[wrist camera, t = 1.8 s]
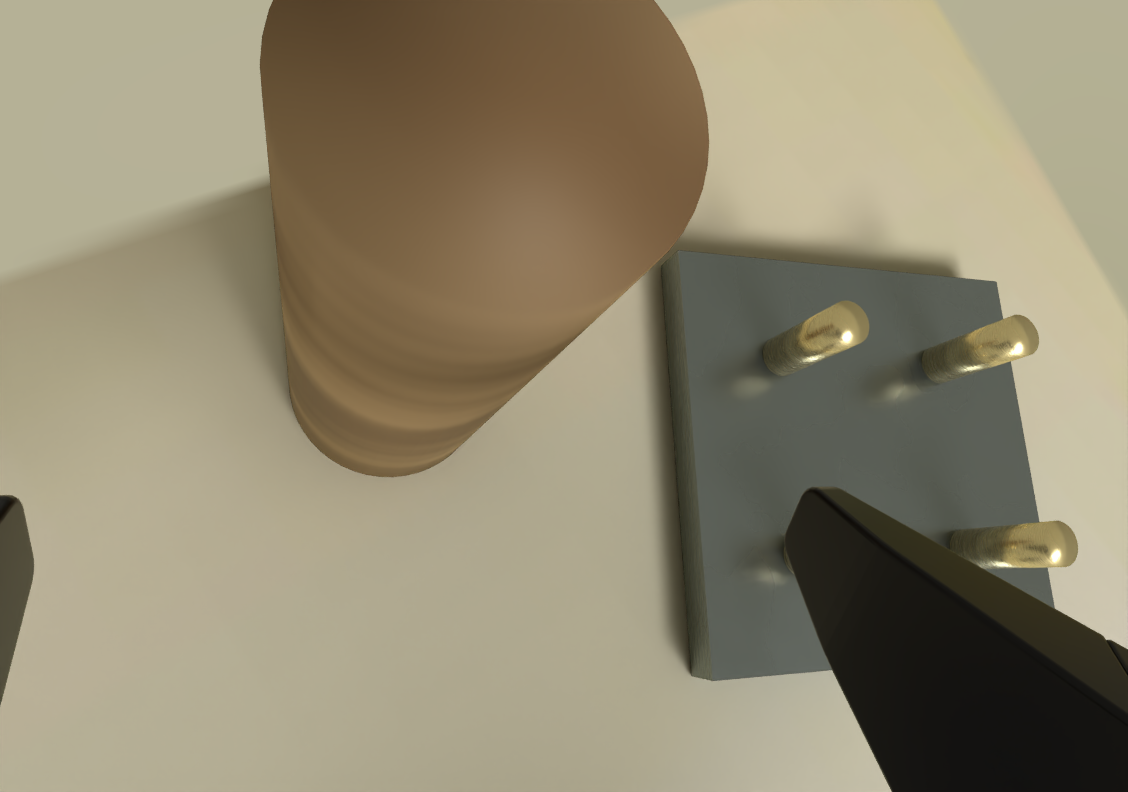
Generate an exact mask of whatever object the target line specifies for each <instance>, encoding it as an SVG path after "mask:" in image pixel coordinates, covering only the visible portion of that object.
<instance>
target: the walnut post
mask: <svg viewBox="0 0 1128 792" xmlns="http://www.w3.org/2000/svg"><path fill="white" fill-rule="evenodd" d="M260 73H261V86H262V98H263V109H264V120H265V130H266V141H267V152H268V163H269V173H270V184H271V195H272V206H273V216H274V227H275V238H276V249H277V259H278V270H279V281H280V292H281V302H282V313H283V324H284V335H285V345H286V356H287V367H288V378H289V388H290V397H291V402H292V406H293V410H294V412H295V415H296V418H297V420H298V422H299V424H300V426H301V428H302V429H303V431H304V433H305V434H306V435H307V437H308V438H309V439H310V441H311V442H312V443H313V444H314V445H315V446H316V447H317V448H318V449H319V450H320V451H321V452H322V453H323V454H325V455H326V456H327V457H328V458H330V459H331V460H333V461H334V462H336V463H338V464H340V465H341V466H343V467H346V468H348V469H350V470H353V471H355V472H359V473H362V474H366V475H372V476H378V477H397V476H406V475H410V474H414V473H418V472H421V471H423V470H426V469H429V468H431V467H433V466H434V465H436V464H438V463H440V462H441V461H443V460H444V459H446V458H447V457H448V456H450V455H451V454H452V453H453V452H454V451H455V450H456V449H457V448H458V447H460V446H461V445H462V444H463V443H464V442H465V441H466V440H467V439H468V438H469V437H470V436H471V435H472V434H473V433H475V432H476V431H477V430H478V429H479V428H480V427H481V426H482V425H483V424H484V423H485V422H486V421H487V420H489V419H490V418H491V417H492V416H493V415H494V414H495V413H496V412H497V411H498V410H499V409H500V408H501V407H502V406H504V405H505V404H506V403H507V402H508V401H509V400H510V399H511V398H512V397H513V396H514V395H515V394H516V393H517V392H519V391H520V390H521V389H522V388H523V387H524V386H525V385H526V384H527V383H528V382H529V381H530V380H531V379H533V378H534V377H535V376H536V375H537V374H538V373H539V372H540V371H541V370H542V369H543V368H544V367H545V366H546V365H548V364H549V363H550V362H551V361H552V360H553V359H554V358H555V357H556V356H557V355H558V354H559V353H560V352H561V351H563V350H564V349H565V348H566V347H567V346H568V345H569V344H570V343H571V342H572V341H573V340H574V339H575V338H577V337H578V336H579V335H580V334H581V333H582V332H583V331H584V330H585V329H586V328H587V327H588V326H589V325H590V324H592V323H593V322H594V321H595V320H596V319H597V318H598V317H599V316H600V315H601V314H602V313H603V312H604V311H605V310H607V309H608V308H609V307H610V306H611V305H612V304H613V303H614V302H615V301H616V300H617V299H618V298H619V297H621V296H622V295H623V294H624V293H625V292H626V291H627V290H628V289H629V288H630V287H631V286H632V285H633V284H634V283H636V282H637V281H638V280H639V279H640V278H641V277H642V276H643V275H644V274H645V273H646V272H647V271H648V270H649V269H651V268H652V267H653V266H654V265H655V264H656V263H657V262H658V261H659V260H660V259H661V258H662V257H663V256H664V255H665V254H666V253H667V252H668V251H669V250H670V249H671V247H672V246H673V245H674V244H675V242H676V241H677V240H678V238H679V237H680V236H681V234H682V233H683V232H684V230H685V228H686V226H687V224H688V222H689V221H690V219H691V217H692V215H693V213H694V211H695V209H696V206H697V203H698V201H699V198H700V195H701V192H702V190H703V185H704V180H705V175H706V171H707V166H708V150H709V133H708V119H707V113H706V108H705V103H704V98H703V93H702V90H701V86H700V83H699V80H698V77H697V74H696V71H695V68H694V66H693V64H692V62H691V59H690V57H689V55H688V53H687V51H686V48H685V46H684V44H683V43H682V41H681V39H680V37H679V36H678V34H677V32H676V31H675V29H674V27H673V26H672V24H671V22H670V21H669V20H668V18H667V17H666V16H665V14H664V13H663V12H662V10H661V9H660V8H659V6H658V5H657V3H656V2H655V1H654V0H273V2H272V4H271V6H270V9H269V12H268V16H267V20H266V23H265V27H264V31H263V35H262V46H261V57H260Z"/></svg>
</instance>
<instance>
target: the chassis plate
mask: <svg viewBox="0 0 1128 792" xmlns="http://www.w3.org/2000/svg"><path fill="white" fill-rule="evenodd" d="M661 271H662V284H663V298H664V311H665V325H666V338H667V352H668V365H669V379H670V392H671V406H672V419H673V433H674V446H675V460H676V473H677V487H678V500H679V514H680V527H681V541H682V554H683V568H684V581H685V594H686V608H687V621H688V635H689V648H690V662H691V675H692V676H694V677H698V678H702V679H707V680H711V681H717V680H728V679H739V678H750V677H761V676H772V675H783V674H794V673H805V672H816V671H827V670H832V669H831V667H830V664H829V662H828V660H827V658H826V656H825V654H824V651H823V649H822V646H821V644H820V641H819V639H818V637H817V634H816V631H815V629H814V626H813V623H812V621H811V618H810V615H809V613H808V610H807V607H806V605H805V602H804V599H803V597H802V594H801V591H800V589H799V586H798V583H797V581H796V578H795V575H794V573H793V570H792V567H791V565H790V562H789V559H788V557H787V554H786V550H785V545H784V538H785V533H786V530H787V528H788V525H789V523H790V521H791V518H792V516H793V514H794V512H795V509H796V507H797V505H798V502H799V500H800V498H801V496H802V494H803V492H804V491H805V490H807V489H808V488H810V487H837V488H840V489H842V490H844V491H846V492H847V493H849V494H851V495H853V496H855V497H856V498H858V499H860V500H862V501H864V502H865V503H867V504H869V505H871V506H872V507H874V508H876V509H878V510H880V511H881V512H883V513H885V514H887V515H888V516H890V517H892V518H894V519H896V520H897V521H899V522H901V523H903V524H905V525H906V526H908V527H910V528H912V529H913V530H915V531H917V532H919V533H921V534H922V535H924V536H926V537H928V538H930V539H931V540H933V541H935V542H937V543H938V544H940V545H942V546H944V547H946V548H947V549H949V550H951V551H953V552H955V553H956V554H958V555H960V556H962V557H963V558H965V559H967V560H969V561H971V562H972V563H974V564H976V565H978V566H979V567H981V568H983V569H985V570H987V571H988V572H990V573H992V574H994V575H996V576H997V577H999V578H1001V579H1003V580H1004V581H1006V582H1008V583H1010V584H1012V585H1013V586H1015V587H1017V588H1019V589H1021V590H1022V591H1024V592H1026V593H1028V594H1029V595H1031V596H1033V597H1035V598H1037V599H1038V600H1040V601H1042V602H1044V603H1046V604H1047V605H1049V606H1051V607H1053V608H1054V609H1055V607H1054V602H1053V596H1052V590H1051V585H1050V579H1049V574H1048V568H1047V567H1067V566H1070V565H1071V564H1072V563H1073V562H1074V561H1075V560H1076V557H1077V553H1078V544H1077V540H1076V537H1075V535H1074V533H1073V531H1072V530H1071V528H1070V527H1069V526H1068V525H1066V524H1065V523H1063V522H1061V521H1049V522H1039V518H1038V512H1037V506H1036V501H1035V495H1034V490H1033V484H1032V478H1031V473H1030V467H1029V462H1028V456H1027V450H1026V445H1025V439H1024V434H1023V428H1022V422H1021V417H1020V411H1019V406H1018V400H1017V394H1016V389H1015V383H1014V378H1013V372H1012V366H1011V361H1013V360H1016V359H1019V358H1022V357H1025V356H1028V355H1031V354H1033V353H1034V352H1035V351H1036V350H1037V348H1038V344H1039V337H1038V333H1037V330H1036V328H1035V326H1034V325H1033V323H1032V322H1031V321H1030V320H1029V319H1028V318H1026V317H1024V316H1022V315H1013V316H1011V317H1008V318H1005V319H1003V316H1002V310H1001V305H1000V299H999V294H998V288H997V282H995V281H985V280H975V279H965V278H955V277H944V276H934V275H924V274H914V273H904V272H893V271H883V270H873V269H863V268H853V267H842V266H832V265H822V264H812V263H802V262H792V261H781V260H771V259H761V258H751V257H741V256H730V255H720V254H710V253H700V252H690V251H679V250H678V251H677V252H676V253H675V254H674V255H673V256H672V257H670V258H669V259H668V260H667V261H666V262H665V263H664V264H663V265H662V266H661Z"/></svg>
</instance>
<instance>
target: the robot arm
mask: <svg viewBox="0 0 1128 792" xmlns="http://www.w3.org/2000/svg"><path fill="white" fill-rule="evenodd" d="M784 545H785V550H786V554H787V557H788V559H789V562H790V565H791V567H792V570H793V573H794V575H795V578H796V581H797V583H798V586H799V589H800V591H801V594H802V597H803V599H804V602H805V605H806V607H807V610H808V613H809V615H810V618H811V621H812V623H813V626H814V629H815V631H816V634H817V637H818V639H819V641H820V644H821V646H822V649H823V651H824V654H825V656H826V658H827V660H828V662H829V664H830V667H831V669H832V671H833V673H834V675H835V677H836V679H837V681H838V683H839V685H840V687H841V689H842V691H843V693H844V695H845V697H846V699H847V701H848V703H849V705H850V708H851V710H852V712H853V714H854V716H855V718H856V720H857V722H858V724H859V726H860V728H861V730H862V732H863V734H864V736H865V738H866V740H867V742H868V744H869V746H870V748H871V750H872V752H873V754H874V757H875V759H876V761H877V763H878V765H879V767H880V769H881V771H882V773H883V775H884V777H885V779H886V781H887V783H888V785H889V787H890V789H891V791H892V792H1128V649H1126V648H1124V647H1122V646H1121V645H1119V644H1117V643H1115V642H1114V641H1112V640H1106V639H1105V638H1104V636H1102V635H1101V634H1099V633H1097V632H1095V631H1094V630H1092V629H1090V628H1088V627H1087V626H1085V625H1083V624H1081V623H1079V622H1078V621H1076V620H1074V619H1072V618H1070V617H1069V616H1067V615H1065V614H1063V613H1062V612H1060V611H1058V610H1056V609H1054V608H1053V607H1051V606H1049V605H1047V604H1046V603H1044V602H1042V601H1040V600H1038V599H1037V598H1035V597H1033V596H1031V595H1029V594H1028V593H1026V592H1024V591H1022V590H1021V589H1019V588H1017V587H1015V586H1013V585H1012V584H1010V583H1008V582H1006V581H1004V580H1003V579H1001V578H999V577H997V576H996V575H994V574H992V573H990V572H988V571H987V570H985V569H983V568H981V567H979V566H978V565H976V564H974V563H972V562H971V561H969V560H967V559H965V558H963V557H962V556H960V555H958V554H956V553H955V552H953V551H951V550H949V549H947V548H946V547H944V546H942V545H940V544H938V543H937V542H935V541H933V540H931V539H930V538H928V537H926V536H924V535H922V534H921V533H919V532H917V531H915V530H913V529H912V528H910V527H908V526H906V525H905V524H903V523H901V522H899V521H897V520H896V519H894V518H892V517H890V516H888V515H887V514H885V513H883V512H881V511H880V510H878V509H876V508H874V507H872V506H871V505H869V504H867V503H865V502H864V501H862V500H860V499H858V498H856V497H855V496H853V495H851V494H849V493H847V492H846V491H844V490H842V489H840V488H837V487H810V488H808V489H807V490H805V491H804V492H803V494H802V496H801V498H800V500H799V502H798V505H797V507H796V509H795V512H794V514H793V516H792V518H791V521H790V523H789V525H788V528H787V530H786V533H785V538H784ZM33 574H34V558H33V552H32V547H31V543H30V538H29V533H28V528H27V523H26V519H25V514H24V509H23V506H22V504H21V502H20V500H19V499H18V498H16V497H14V496H12V495H0V705H1V701H2V697H3V694H4V690H5V686H6V682H7V678H8V674H9V670H10V666H11V662H12V659H13V655H14V651H15V647H16V643H17V639H18V635H19V631H20V627H21V624H22V620H23V616H24V612H25V608H26V604H27V600H28V596H29V592H30V589H31V585H32V580H33Z"/></svg>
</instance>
